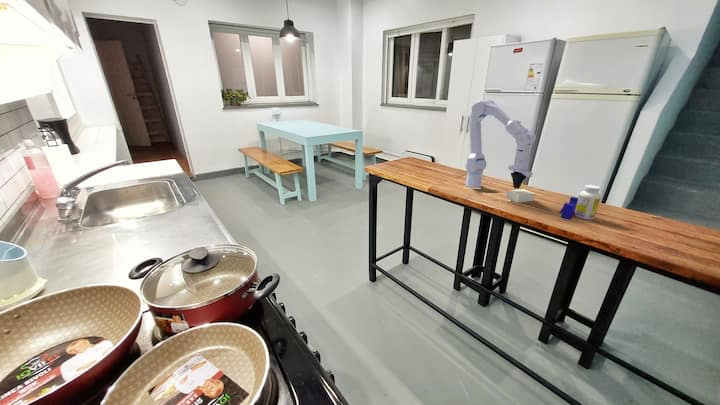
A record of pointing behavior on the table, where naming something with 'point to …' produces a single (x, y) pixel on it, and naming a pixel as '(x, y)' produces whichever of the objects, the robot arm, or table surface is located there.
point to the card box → (521, 195)
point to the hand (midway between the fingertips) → (516, 188)
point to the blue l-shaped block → (569, 208)
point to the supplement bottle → (588, 202)
